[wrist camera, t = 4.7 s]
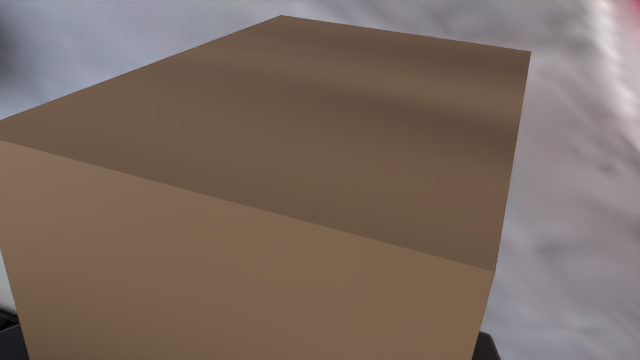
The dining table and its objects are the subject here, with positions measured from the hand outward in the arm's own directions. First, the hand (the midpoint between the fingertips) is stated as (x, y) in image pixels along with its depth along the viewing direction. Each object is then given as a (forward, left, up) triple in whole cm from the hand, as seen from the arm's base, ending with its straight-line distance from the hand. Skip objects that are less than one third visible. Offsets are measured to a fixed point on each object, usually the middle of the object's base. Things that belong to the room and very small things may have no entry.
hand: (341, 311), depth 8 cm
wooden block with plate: (-3, 0, -1) cm, 4 cm away
